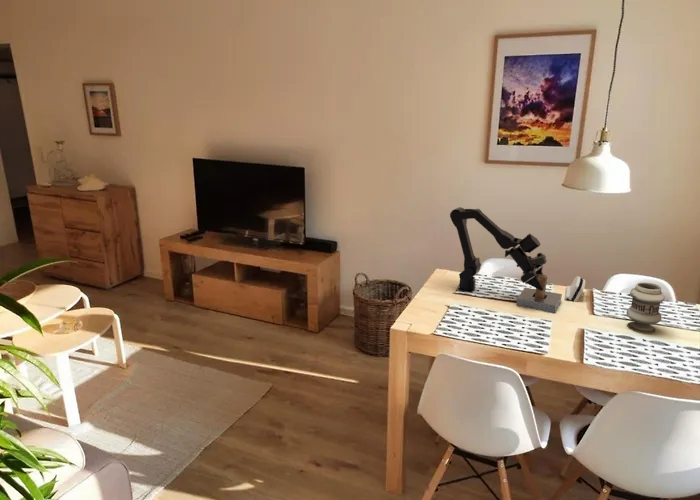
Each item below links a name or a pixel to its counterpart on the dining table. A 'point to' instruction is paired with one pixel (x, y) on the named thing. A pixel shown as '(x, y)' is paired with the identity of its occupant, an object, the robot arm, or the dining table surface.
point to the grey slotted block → (539, 300)
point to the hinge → (575, 289)
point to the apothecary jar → (645, 307)
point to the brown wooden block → (542, 281)
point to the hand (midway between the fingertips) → (544, 286)
